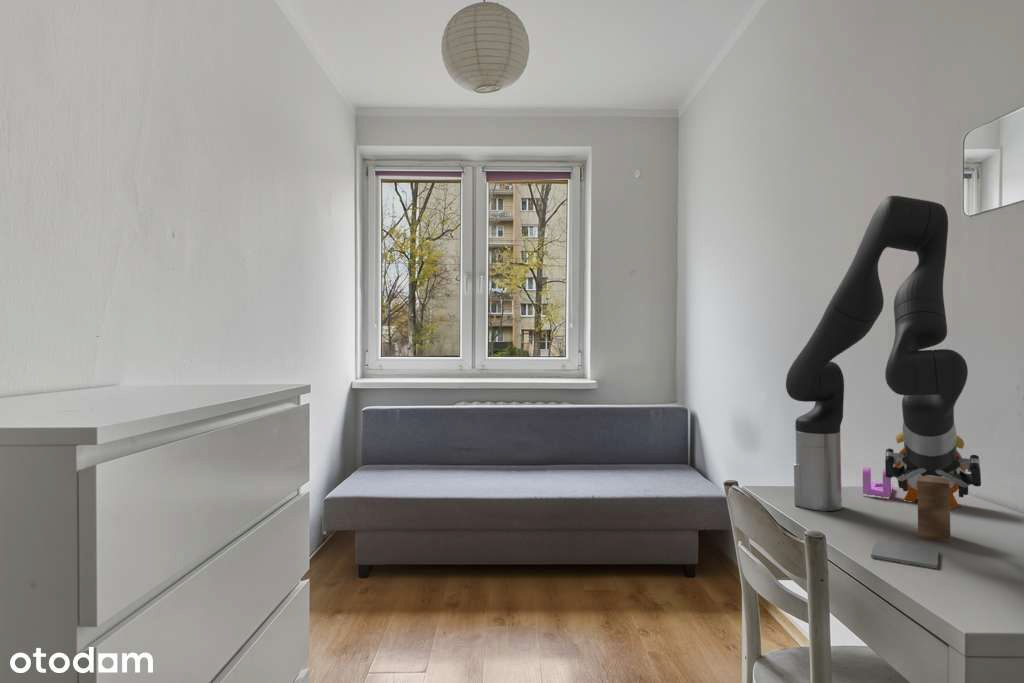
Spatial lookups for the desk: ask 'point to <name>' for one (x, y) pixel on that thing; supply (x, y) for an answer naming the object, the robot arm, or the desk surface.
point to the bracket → (876, 484)
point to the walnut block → (933, 508)
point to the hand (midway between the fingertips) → (932, 490)
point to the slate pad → (905, 553)
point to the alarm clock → (913, 481)
